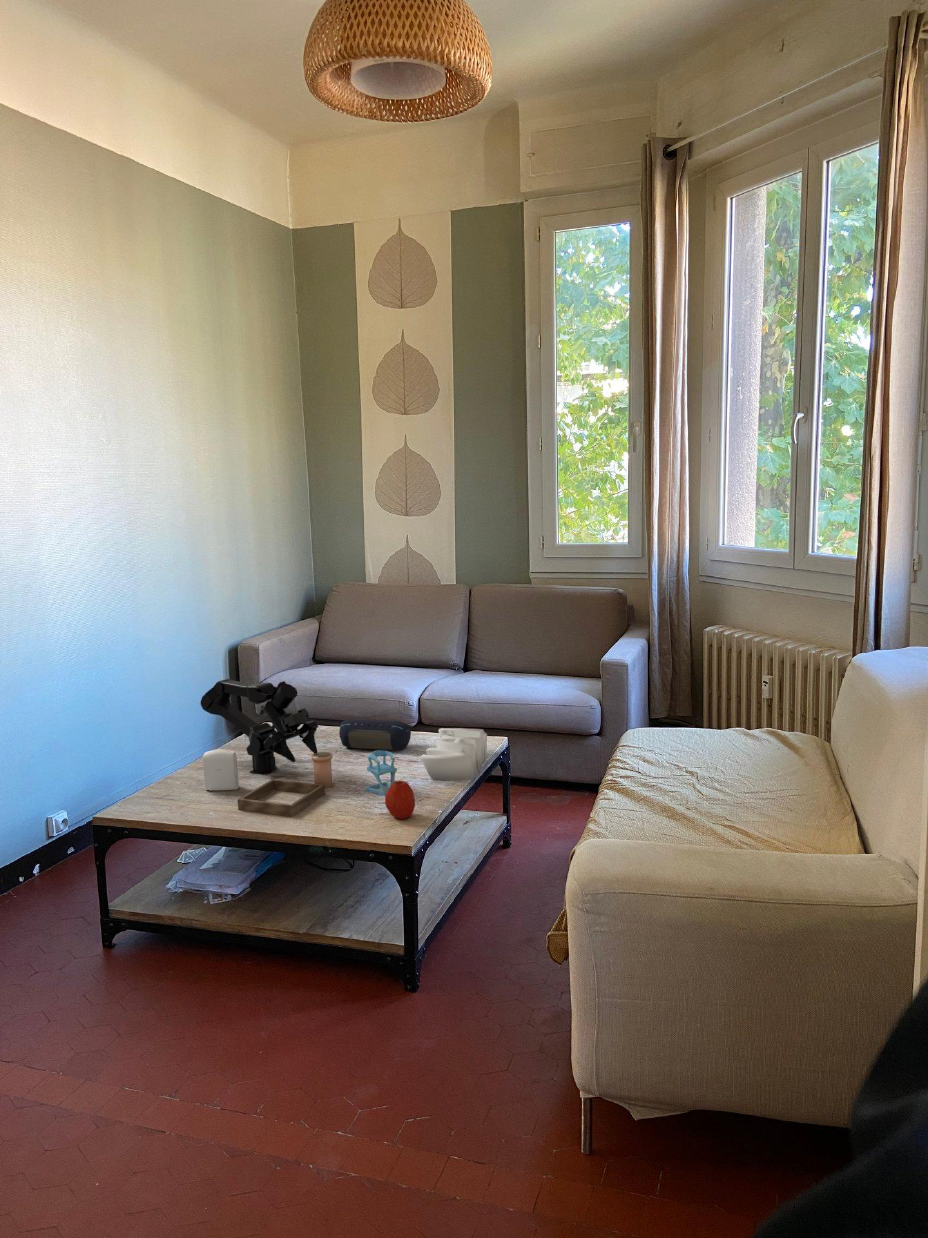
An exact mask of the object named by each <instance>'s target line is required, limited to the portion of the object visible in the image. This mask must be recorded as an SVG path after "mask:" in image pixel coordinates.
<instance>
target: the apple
mask: <svg viewBox="0 0 928 1238" xmlns="http://www.w3.org/2000/svg"><path fill="white" fill-rule="evenodd" d="M390 785H391V784H390ZM386 791H387V793H386V796H385V795H384V796H385V797H384V804H385V807H386V809H387V811H388V812H389V814H390V815H391V816H392V817H394V818H395V819H399V820H400V819H401V820H403V819H407V818H410V817H411V816H412V814H413V813H414V810H415V806H416V799H415V798H416V797H415V794H414V791H413V788H412V787H411V786H410V785H409V783H407V782H406V781H404V780H394V783H393V784H392V785H391V786H390V788H389V789H388V788H387V790H386Z"/></svg>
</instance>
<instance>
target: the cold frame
mask: <svg viewBox="0 0 928 1238" xmlns="http://www.w3.org/2000/svg"><path fill="white" fill-rule="evenodd" d="M273 791H283V792H289V793H298V794H305V795H303V796H302V797H301V798H299V799H298V800H296V801H295V802H293V803H291V804H288V803H281V802H272V801H264V800H260V799H261V797H262V798H263V797H265V796H266V795H268V794H270V793H271V792H273ZM325 795H326V789H325V785H322V784H314V782H312V783H311V782H303V781H294V780H286V779H285V780H284V779H278V778H275V779H274V778H271V779H270V780H269V781H268V780H267V782H264V783H263V784H262V785H260V786H258V787H257V788H255V789H253V790H251V791H249V792H248V793H246V794H244V795H242V796H241V797H239V798H237V809H238V811H239V810H240V811H248V812H255V813H262V814H263V813H264V814H269V815H270V814H271V815H278V816H286V817H294V816H296V815H297V814H299V813H300V812H302V811H304V810H305V809H306V808H308V807H309V806H311V805H312V804H314V803H315V802H316V801H318V800H320V799H321V798H322V797H324V796H325Z"/></svg>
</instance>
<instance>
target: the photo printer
mask: <svg viewBox="0 0 928 1238" xmlns="http://www.w3.org/2000/svg"><path fill="white" fill-rule="evenodd" d="M202 765H203V777H204V778H203V779H204V788H205V791H207V790H209V791H233V790H234V791H235V790H238V789H239V788H240V783H239V769H238V768H239V767H238V757H237V753H236V751H234V750H230V749H224V748H223V749H220V748H219V749H212V750H208V751H205V752H204V753H203V755H202Z"/></svg>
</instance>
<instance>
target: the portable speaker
mask: <svg viewBox="0 0 928 1238" xmlns="http://www.w3.org/2000/svg"><path fill="white" fill-rule="evenodd" d="M339 726H340V727H339V730H338V731H339V733H338V735H339V738H340V741H341V744H342V746H344V747H345V748H348V749H361V750H362V749H363V750H364V749H365V750H382V751H387V750H388V751H400V750H401V751H403V750H404V749H406V748H407V747H408V746H409V742H410V740H411V735H412V730H411V729H412V728H411V726H410V725H409V724H408V723H406V722H403V721H400V720H384V719H383V720H382V719H381V720H380V719H357V718H356V719H355V718H351V719H345V720H344V721H341V723H340V725H339Z"/></svg>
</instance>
